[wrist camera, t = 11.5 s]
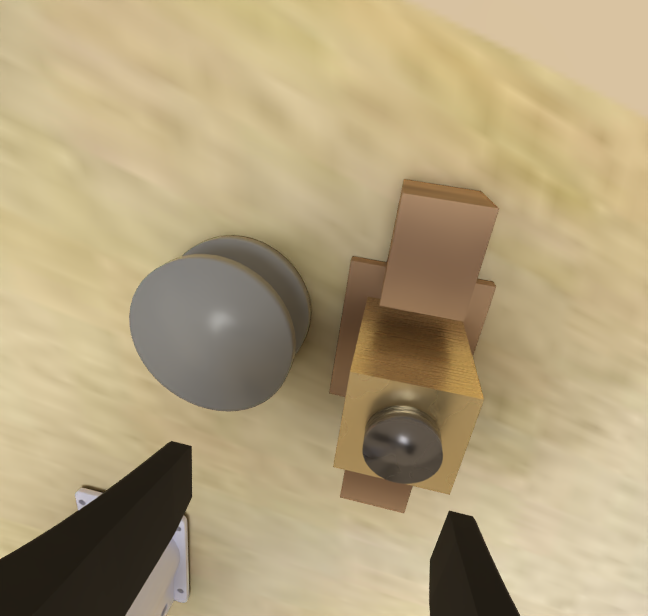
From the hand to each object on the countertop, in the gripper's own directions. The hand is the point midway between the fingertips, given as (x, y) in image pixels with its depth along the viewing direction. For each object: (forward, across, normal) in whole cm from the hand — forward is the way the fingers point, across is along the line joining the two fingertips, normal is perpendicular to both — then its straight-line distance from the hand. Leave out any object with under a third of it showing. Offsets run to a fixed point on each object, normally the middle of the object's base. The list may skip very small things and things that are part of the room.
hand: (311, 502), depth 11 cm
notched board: (+9, -2, -1) cm, 10 cm away
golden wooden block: (+9, -2, -1) cm, 9 cm away
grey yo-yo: (+9, +6, -1) cm, 11 cm away
